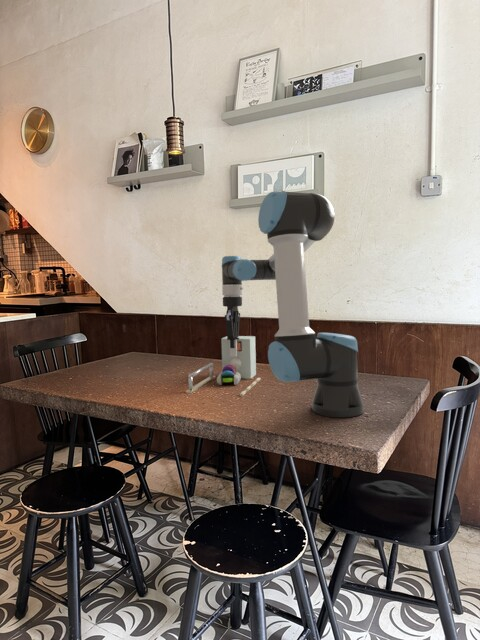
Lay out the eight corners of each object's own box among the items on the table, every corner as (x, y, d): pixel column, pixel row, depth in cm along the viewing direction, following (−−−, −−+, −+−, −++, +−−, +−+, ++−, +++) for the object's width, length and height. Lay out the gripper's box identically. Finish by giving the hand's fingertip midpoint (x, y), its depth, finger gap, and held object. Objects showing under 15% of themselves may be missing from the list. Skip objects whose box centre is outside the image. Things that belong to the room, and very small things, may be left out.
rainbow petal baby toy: (241, 380, 174) (241, 362, 173) (238, 386, 164) (237, 367, 163) (220, 380, 175) (219, 362, 174) (215, 386, 165) (215, 367, 164)
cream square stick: (242, 396, 151) (242, 394, 151) (239, 395, 151) (239, 394, 151) (260, 379, 174) (260, 377, 174) (258, 379, 175) (258, 377, 175)
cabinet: (250, 379, 175) (249, 339, 174) (222, 377, 179) (221, 338, 177) (256, 374, 183) (255, 336, 182) (228, 373, 187) (227, 335, 185)
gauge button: (240, 350, 175) (239, 342, 175) (230, 350, 176) (230, 342, 176) (242, 349, 178) (242, 341, 178) (232, 348, 179) (232, 341, 179)
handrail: (191, 393, 156) (190, 375, 156) (186, 392, 157) (185, 375, 156) (215, 377, 180) (215, 362, 179) (210, 377, 181) (210, 361, 180)
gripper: (236, 296, 164) (237, 359, 166) (246, 295, 177) (246, 353, 179) (217, 296, 167) (219, 358, 169) (228, 295, 179) (229, 353, 181)
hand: (233, 356), depth 174 cm, fingers closed
